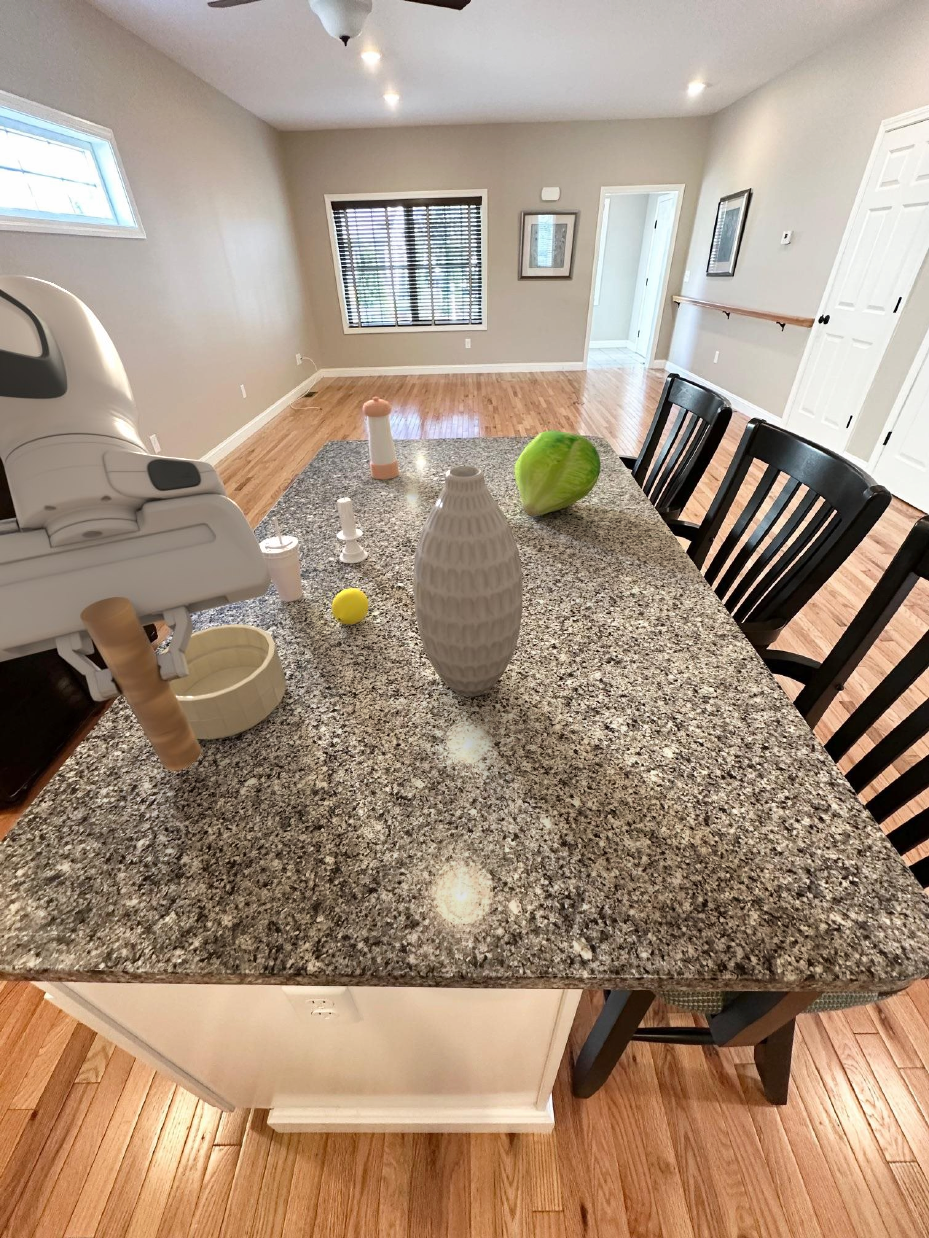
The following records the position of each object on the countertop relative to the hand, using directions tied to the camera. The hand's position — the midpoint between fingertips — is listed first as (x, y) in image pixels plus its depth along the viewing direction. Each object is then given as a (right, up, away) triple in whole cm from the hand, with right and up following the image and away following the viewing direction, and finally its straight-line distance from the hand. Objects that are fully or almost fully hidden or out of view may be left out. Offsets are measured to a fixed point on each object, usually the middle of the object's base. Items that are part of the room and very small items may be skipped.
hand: (144, 687), depth 35 cm
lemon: (+5, +4, +45) cm, 45 cm away
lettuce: (+42, +30, +79) cm, 94 cm away
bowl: (-8, -6, +31) cm, 32 cm away
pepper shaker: (+1, +43, +100) cm, 108 cm away
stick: (0, -6, +5) cm, 8 cm away
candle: (+1, +16, +62) cm, 64 cm away
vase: (+23, -4, +33) cm, 40 cm away
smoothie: (-7, +9, +52) cm, 53 cm away
